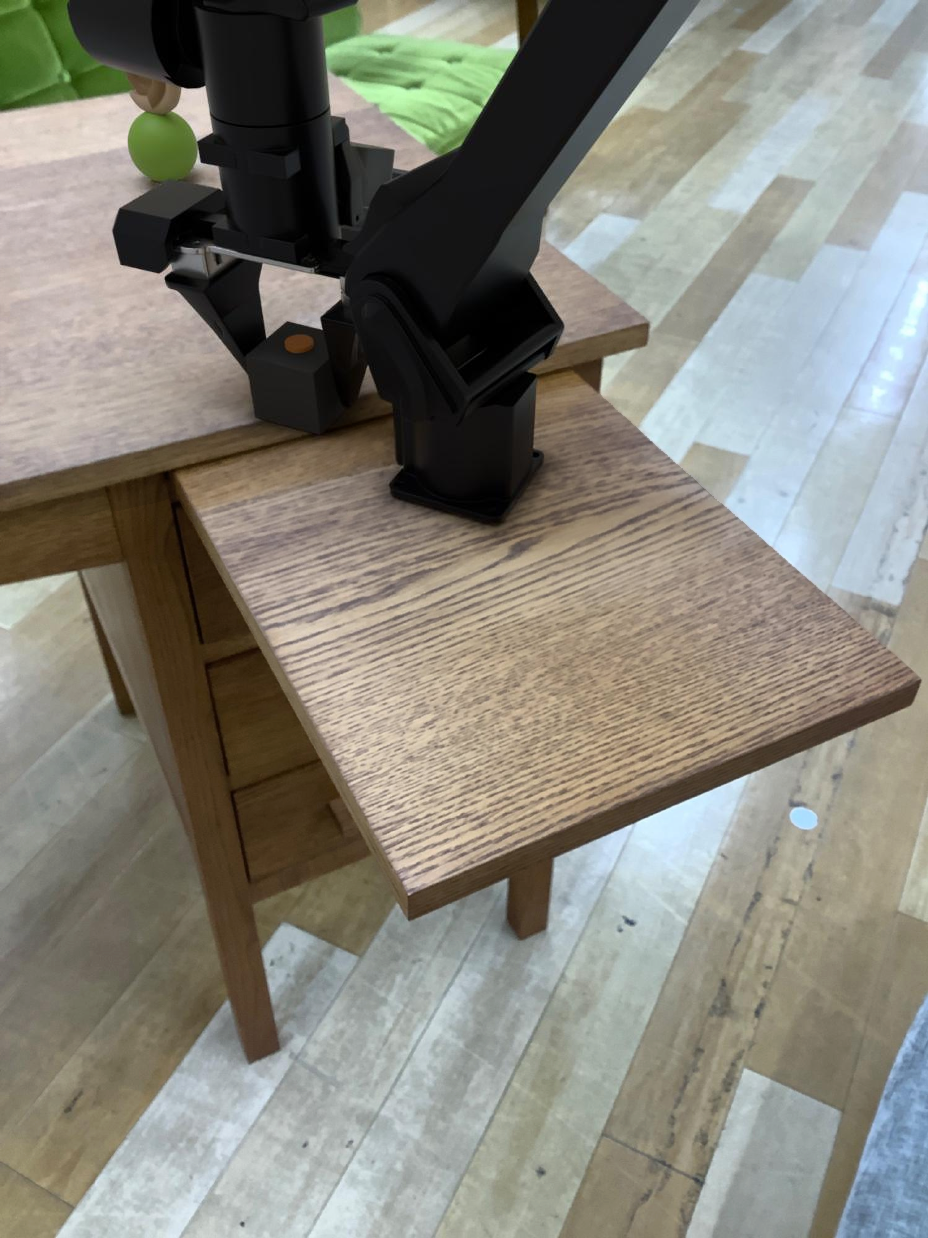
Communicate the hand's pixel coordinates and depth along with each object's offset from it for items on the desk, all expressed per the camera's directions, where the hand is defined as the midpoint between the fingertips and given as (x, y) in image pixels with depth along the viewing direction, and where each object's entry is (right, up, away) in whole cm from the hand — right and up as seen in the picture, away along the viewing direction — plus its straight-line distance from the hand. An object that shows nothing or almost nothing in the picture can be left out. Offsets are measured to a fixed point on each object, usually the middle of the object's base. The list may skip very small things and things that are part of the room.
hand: (305, 392), depth 60 cm
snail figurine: (-15, +23, +25) cm, 37 cm away
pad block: (0, -1, +1) cm, 1 cm away
